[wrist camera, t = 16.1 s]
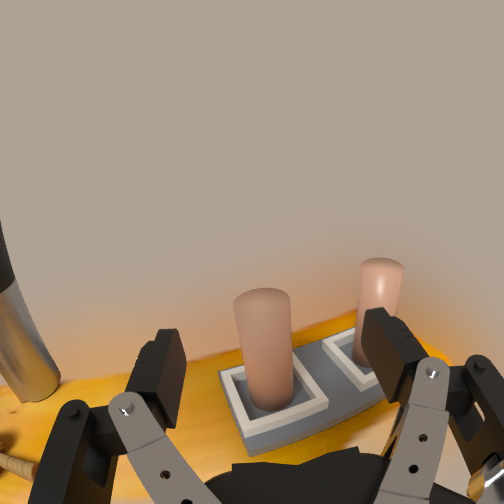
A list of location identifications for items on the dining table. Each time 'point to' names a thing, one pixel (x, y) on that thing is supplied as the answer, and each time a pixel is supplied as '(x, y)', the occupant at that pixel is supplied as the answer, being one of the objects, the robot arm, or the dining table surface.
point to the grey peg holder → (320, 374)
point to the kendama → (18, 466)
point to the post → (266, 346)
